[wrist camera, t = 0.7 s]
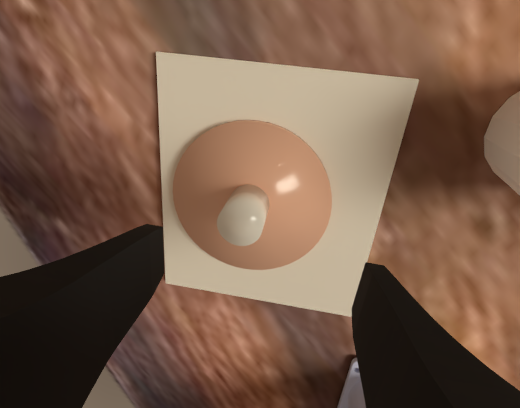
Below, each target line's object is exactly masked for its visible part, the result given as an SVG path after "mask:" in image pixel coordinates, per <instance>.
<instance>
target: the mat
mask: <svg viewBox="0 0 520 408" xmlns="http://www.w3.org/2000/svg"><path fill="white" fill-rule="evenodd" d="M156 65H157V89H158V113H159V137H160V160H161V184H162V208H163V232H164V256H165V279H166V283H168V284H173V285H179V286H184V287H190V288H195V289H201V290H206V291H212V292H217V293H223V294H228V295H234V296H240V297H245V298H251V299H256V300H262V301H267V302H273V303H278V304H284V305H289V306H295V307H300V308H306V309H311V310H317V311H322V312H328V313H333V314H339V315H345V316H350V317H351V316H352V305H353V302H354V299H355V295H356V292H357V289H358V286H359V282H360V279H361V276H362V272H363V269H364V266H365V262H366V263H367V260H368V257H369V253H370V250H371V246H372V243H373V239H374V236H375V232H376V229H377V225H378V222H379V218H380V215H381V211H382V208H383V204H384V201H385V197H386V194H387V190H388V187H389V183H390V180H391V176H392V173H393V169H394V166H395V162H396V159H397V155H398V152H399V149H400V145H401V142H402V138H403V135H404V131H405V128H406V124H407V121H408V117H409V114H410V110H411V107H412V103H413V100H414V96H415V93H416V89H417V86H418V82H419V79H413V78H403V77H394V76H384V75H375V74H365V73H356V72H346V71H337V70H327V69H318V68H308V67H299V66H289V65H280V64H270V63H261V62H251V61H242V60H232V59H223V58H213V57H204V56H194V55H185V54H175V53H166V52H156ZM236 120H260V121H265V122H270V123H273V124H276V125H279V126H281V127H284V128H286V129H288V130H290V131H291V132H293V133H294V134H296V135H297V136H299V137H300V138H302V139H303V140H304V141H305V142H306V143H307V144H308V145H309V146H310V147H311V148H312V149H313V150H314V151H315V153H316V154H317V155H318V157H319V158H320V160H321V161H322V163H323V165H324V168H325V170H326V172H327V175H328V178H329V181H330V187H331V194H332V209H331V216H330V219H329V223H328V226H327V228H326V230H325V232H324V234H323V236H322V237H321V239H320V240H319V242H318V243H317V244H316V245H315V246H314V248H313V249H312V250H310V251H309V252H308V253H307V254H306V255H304V256H303V257H301V258H300V259H298V260H296V261H294V262H292V263H290V264H288V265H285V266H282V267H278V268H274V269H267V270H250V269H243V268H238V267H234V266H231V265H228V264H226V263H223V262H221V261H219V260H217V259H215V258H214V257H212V256H210V255H209V254H207V253H206V252H205V251H203V250H202V249H201V248H200V247H199V246H198V245H197V244H196V243H195V242H194V241H193V240H192V239H191V238H190V237H189V235H188V234H187V232H186V231H185V229H184V228H183V226H182V224H181V222H180V220H179V218H178V215H177V212H176V210H175V205H174V200H173V180H174V175H175V171H176V168H177V165H178V163H179V161H180V159H181V157H182V155H183V154H184V152H185V151H186V149H187V148H188V147H189V146H190V145H191V144H192V143H193V142H194V141H195V140H196V139H197V138H198V137H200V136H201V135H202V134H204V133H205V132H207V131H208V130H210V129H212V128H214V127H216V126H218V125H221V124H224V123H227V122H231V121H236Z"/></svg>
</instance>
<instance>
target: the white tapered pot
mask: <svg viewBox="0 0 520 408" xmlns="http://www.w3.org/2000/svg"><path fill="white" fill-rule="evenodd" d="M484 157H485V159H486V160H487V162H488V164H489V165H490V167H491V169H492V171H493V172H494V173H495V174H496V175H497V176H498V177H500V178H501V179H502V180H503V181H504V182H505V183H506V184H507V185H509V186H510V187H511V188H512V189H513V190H514V191H515V192H516V193H518V194H519V195H520V91H519V92H517V93H516V94H514V95H512V96H511V97H509V98H508V99H507V101H506V102H505V103H504V104H503V105H502V106H501V107H500V108H499V110H498V111H497V112H496V113H495V114H494V115H493V116H492V119H491V121H490V123H489V126H488V128H487V131H486V133H485V136H484Z"/></svg>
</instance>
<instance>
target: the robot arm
mask: <svg viewBox="0 0 520 408" xmlns="http://www.w3.org/2000/svg"><path fill="white" fill-rule="evenodd" d="M163 274H164V248H163V227H161V226H155V225H149V224H146V225H143V226H140V227H137V228H135V229H133V230H130V231H128V232H126V233H123V234H121V235H119V236H117V237H114V238H112V239H110V240H107V241H105V242H103V243H100V244H98V245H96V246H93V247H91V248H88V249H86V250H83V251H81V252H78V253H76V254H73V255H71V256H68V257H65V258H63V259H60V260H57V261H54V262H51V263H48V264H45V265H42V266H39V267H36V268H32V269H30V270H26V271H22V272H19V273H15V274H11V275H7V276H3V277H0V408H82V407H83V405H84V403H85V401H86V399H87V397H88V395H89V394H90V392H91V390H92V388H93V386H94V384H95V383H96V381H97V379H98V377H99V376H100V374H101V372H102V370H103V369H104V367H105V365H106V363H107V362H108V360H109V358H110V357H111V355H112V354H113V352H114V351H115V349H116V348H117V346H118V345H119V343H120V342H121V340H122V339H123V338H124V336H125V335H126V333H127V332H128V331H129V329H130V328H131V326H132V325H133V323H134V322H135V321H136V319H137V318H138V316H139V315H140V313H141V312H142V311H143V309H144V308H145V306H146V305H147V303H148V302H149V300H150V299H151V297H152V296H153V294H154V292H155V290H156V288H157V286H158V285H159V282H160V280H161V278H162V276H163ZM352 328H353V339H354V345H355V350H356V356H357V358H354V359H353V360H352V362H351V365H350V368H349V371H348V374H347V378H346V381H345V384H344V387H343V391H342V394H341V397H340V400H339V403H338V407H337V408H520V391H519V390H518V389H516V388H515V387H514V386H512V385H511V384H509V383H508V382H507V381H505V380H504V379H503V378H501V377H500V376H499V375H497V374H496V373H495V372H494V371H492V370H491V369H490V368H488V367H487V366H486V365H485V364H483V363H482V362H481V361H480V360H479V359H477V358H476V357H475V356H474V355H473V354H471V353H470V352H469V351H468V350H467V349H466V348H464V347H463V346H462V345H461V344H460V343H459V342H457V341H456V340H455V339H454V338H453V337H452V336H451V335H450V334H449V333H448V332H447V331H446V330H444V329H443V328H442V327H441V326H440V325H439V324H438V323H437V322H436V321H435V320H434V319H433V318H432V317H431V316H430V315H429V314H428V313H427V312H426V311H425V310H424V309H423V308H422V307H421V306H420V304H419V303H418V302H417V301H416V300H415V299H414V298H413V297H412V296H411V295H410V294H409V293H408V291H407V290H406V289H405V288H404V287H403V286H402V285H401V284H400V283H399V281H398V280H397V279H396V278H395V277H394V276H393V275H392V274H391V272H390V271H389V270H388V269H387V268H386V267H385V266H383V265H378V264H372V263H366V262H365V266H364V269H363V272H362V276H361V279H360V282H359V286H358V289H357V292H356V295H355V299H354V302H353V305H352Z"/></svg>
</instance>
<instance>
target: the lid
mask: <svg viewBox="0 0 520 408" xmlns="http://www.w3.org/2000/svg"><path fill="white" fill-rule="evenodd" d="M173 200H174V205H175V210H176V212H177V215H178V218H179V220H180V222H181V224H182V226H183V228H184V229H185V231H186V232H187V234H188V235H189V237H190V238H191V239H192V240H193V241H194V242H195V243H196V244H197V245H198V246H199V247H200V248H201V249H202V250H203V251H205V252H206V253H207V254H209V255H210V256H212V257H214V258H215V259H217V260H219V261H221V262H223V263H226V264H228V265H231V266H234V267H238V268H243V269H250V270H267V269H274V268H278V267H282V266H285V265H288V264H290V263H292V262H294V261H296V260H298V259H300V258H301V257H303V256H304V255H306V254H307V253H308V252H309V251H310V250H312V249H313V248H314V246H315V245H316V244H317V243H318V242H319V240H320V239H321V237H322V236H323V234H324V232H325V230H326V228H327V226H328V223H329V219H330V216H331V209H332V194H331V187H330V181H329V178H328V175H327V172H326V170H325V168H324V165H323V163H322V161H321V160H320V158H319V157H318V155H317V154H316V153H315V151H314V150H313V149H312V148H311V147H310V146H309V145H308V144H307V143H306V142H305V141H304V140H303V139H302V138H300V137H299V136H297V135H296V134H294V133H293V132H291V131H290V130H288V129H286V128H284V127H281V126H279V125H276V124H273V123H270V122H265V121H260V120H236V121H231V122H227V123H224V124H221V125H218V126H216V127H214V128H212V129H210V130H208V131H207V132H205V133H204V134H202V135H201V136H200V137H198V138H197V139H196V140H195V141H194V142H193V143H192V144H191V145H190V146H189V147H188V148H187V149H186V151H185V152H184V154H183V155H182V157H181V159H180V161H179V163H178V165H177V168H176V171H175V175H174V180H173Z"/></svg>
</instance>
